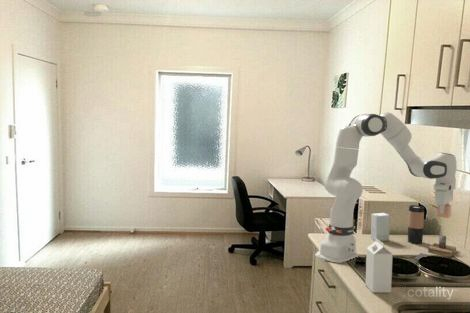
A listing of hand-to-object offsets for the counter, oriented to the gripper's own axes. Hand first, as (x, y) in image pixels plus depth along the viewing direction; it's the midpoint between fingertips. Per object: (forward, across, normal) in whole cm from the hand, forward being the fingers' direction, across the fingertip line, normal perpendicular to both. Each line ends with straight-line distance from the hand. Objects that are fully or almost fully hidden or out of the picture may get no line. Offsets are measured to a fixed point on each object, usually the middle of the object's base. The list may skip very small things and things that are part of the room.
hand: (443, 211), depth 183 cm
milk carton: (+21, +67, -7) cm, 70 cm away
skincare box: (+21, +2, -31) cm, 37 cm away
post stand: (+20, 0, 0) cm, 21 cm away
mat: (+21, +17, -2) cm, 27 cm away
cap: (+2, 0, 0) cm, 2 cm away
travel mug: (+21, -7, -15) cm, 27 cm away
